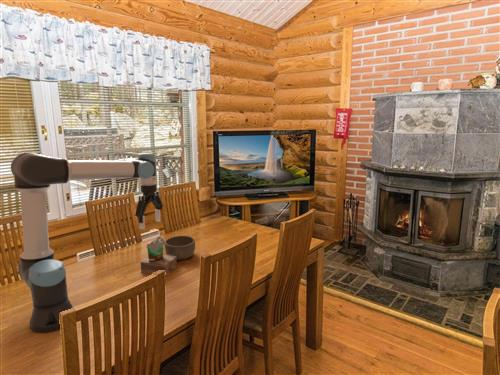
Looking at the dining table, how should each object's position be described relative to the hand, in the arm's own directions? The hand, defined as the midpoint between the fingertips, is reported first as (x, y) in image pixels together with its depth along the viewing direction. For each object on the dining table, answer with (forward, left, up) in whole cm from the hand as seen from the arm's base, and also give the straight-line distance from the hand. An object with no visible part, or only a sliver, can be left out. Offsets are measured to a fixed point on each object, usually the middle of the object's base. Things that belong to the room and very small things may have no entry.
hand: (150, 225), depth 171 cm
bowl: (+21, -5, -25) cm, 33 cm away
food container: (+2, -3, -19) cm, 19 cm away
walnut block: (+2, -3, -25) cm, 25 cm away
